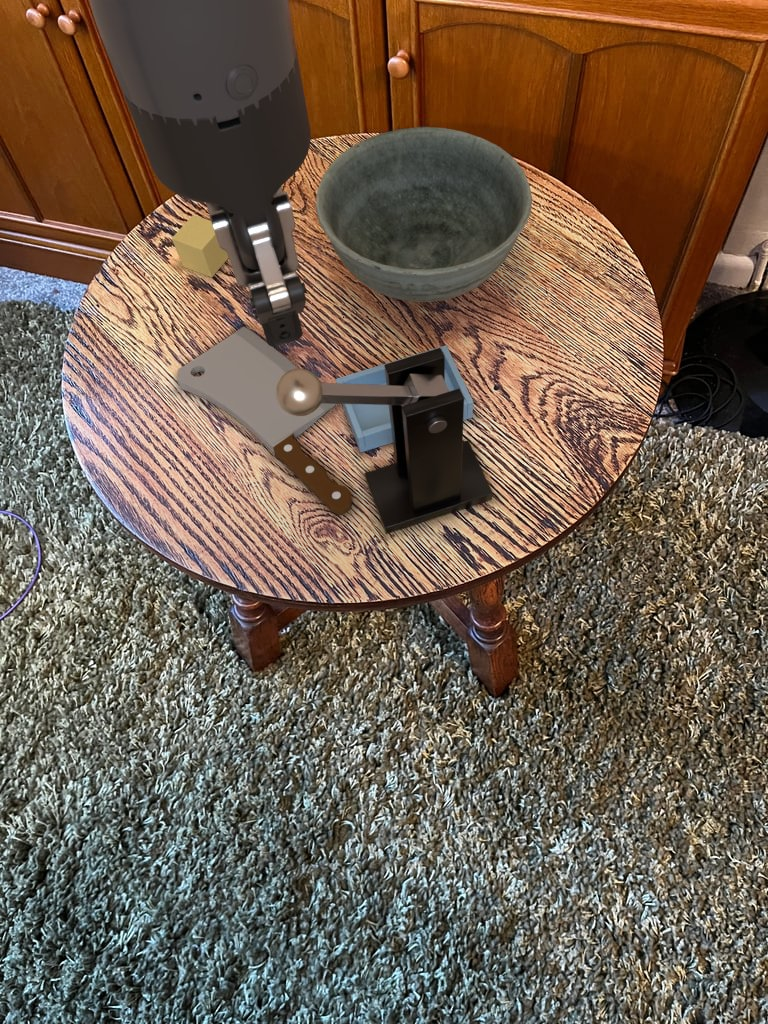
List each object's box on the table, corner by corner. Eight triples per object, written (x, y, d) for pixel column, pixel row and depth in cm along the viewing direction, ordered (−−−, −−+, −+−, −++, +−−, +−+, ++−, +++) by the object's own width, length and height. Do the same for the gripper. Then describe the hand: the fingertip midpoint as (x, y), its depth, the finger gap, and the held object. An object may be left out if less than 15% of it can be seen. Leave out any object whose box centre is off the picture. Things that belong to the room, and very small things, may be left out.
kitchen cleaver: (405, 462, 70) (320, 527, 67) (405, 468, 71) (321, 532, 68) (247, 319, 80) (166, 370, 77) (249, 327, 81) (169, 377, 78)
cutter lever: (276, 425, 52) (290, 393, 49) (265, 389, 53) (278, 357, 51) (438, 426, 58) (457, 398, 56) (423, 394, 60) (441, 365, 57)
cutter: (385, 534, 68) (370, 434, 54) (365, 479, 70) (345, 370, 56) (492, 499, 68) (504, 392, 55) (468, 446, 71) (473, 331, 57)
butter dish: (360, 453, 72) (357, 438, 70) (338, 394, 75) (335, 378, 73) (472, 417, 73) (473, 401, 71) (446, 361, 76) (446, 344, 74)
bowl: (289, 291, 82) (270, 215, 73) (404, 178, 89) (399, 96, 80) (450, 377, 75) (451, 305, 66) (561, 247, 82) (575, 166, 73)
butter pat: (211, 277, 84) (201, 249, 80) (182, 266, 85) (171, 238, 81) (232, 253, 85) (223, 224, 82) (203, 243, 86) (193, 214, 83)
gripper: (94, -6, 35) (202, 278, 50) (142, 178, 28) (249, 438, 44) (255, -47, 35) (313, 246, 50) (336, 124, 29) (374, 399, 44)
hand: (283, 334), depth 47 cm, fingers closed
